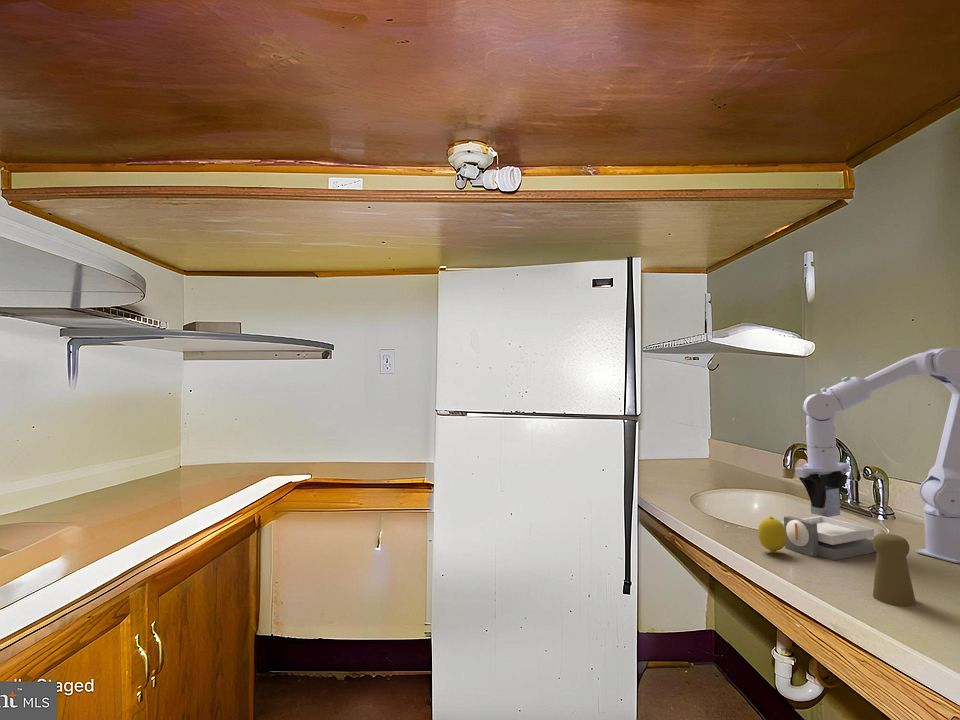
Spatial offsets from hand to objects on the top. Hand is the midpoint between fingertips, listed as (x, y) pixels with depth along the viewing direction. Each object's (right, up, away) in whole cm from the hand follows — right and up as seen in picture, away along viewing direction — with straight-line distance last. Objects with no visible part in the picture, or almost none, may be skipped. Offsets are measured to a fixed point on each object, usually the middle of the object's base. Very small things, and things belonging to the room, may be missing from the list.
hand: (824, 506), depth 125 cm
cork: (-6, -9, -29) cm, 31 cm away
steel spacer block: (0, -2, 0) cm, 2 cm away
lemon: (-13, -10, -3) cm, 17 cm away
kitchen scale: (-1, -9, -1) cm, 9 cm away
